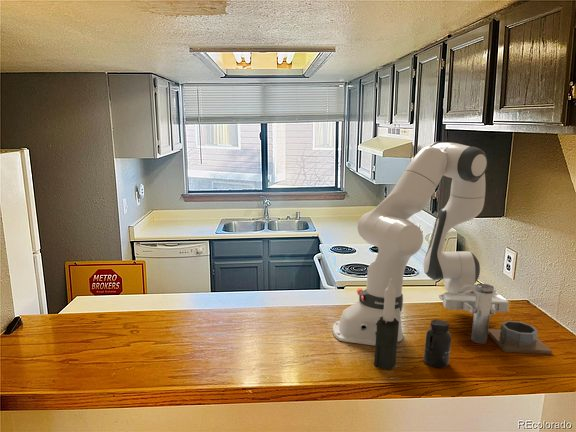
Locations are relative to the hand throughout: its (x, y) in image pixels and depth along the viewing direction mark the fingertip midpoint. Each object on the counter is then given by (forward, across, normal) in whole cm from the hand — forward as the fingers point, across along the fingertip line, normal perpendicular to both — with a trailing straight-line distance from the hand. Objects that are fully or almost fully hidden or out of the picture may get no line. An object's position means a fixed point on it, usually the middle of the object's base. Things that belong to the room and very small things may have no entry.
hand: (483, 311), depth 141 cm
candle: (+18, -33, +10) cm, 39 cm away
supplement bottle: (+15, -18, +10) cm, 26 cm away
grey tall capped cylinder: (-1, 0, +10) cm, 10 cm away
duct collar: (-1, +12, +10) cm, 16 cm away
